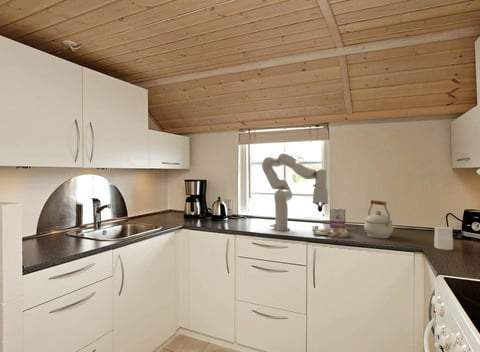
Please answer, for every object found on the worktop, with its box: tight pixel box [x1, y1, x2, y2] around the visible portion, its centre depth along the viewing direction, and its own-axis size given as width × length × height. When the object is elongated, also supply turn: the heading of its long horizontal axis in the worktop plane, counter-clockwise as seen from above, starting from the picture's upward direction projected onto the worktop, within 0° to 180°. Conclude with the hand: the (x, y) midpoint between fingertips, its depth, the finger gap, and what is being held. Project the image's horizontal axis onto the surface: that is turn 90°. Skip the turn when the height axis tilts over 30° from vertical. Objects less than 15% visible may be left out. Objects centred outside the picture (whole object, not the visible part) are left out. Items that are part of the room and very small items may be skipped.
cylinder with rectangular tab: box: [433, 226, 454, 251], centre depth 166 cm, size 9×9×12 cm
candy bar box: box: [329, 207, 346, 229], centre depth 224 cm, size 11×5×16 cm, turn 62°
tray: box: [312, 225, 333, 236], centre depth 202 cm, size 14×14×4 cm
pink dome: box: [320, 228, 330, 233], centre depth 202 cm, size 7×7×2 cm
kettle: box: [363, 199, 394, 239], centre depth 199 cm, size 25×18×25 cm
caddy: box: [325, 227, 350, 239], centre depth 200 cm, size 14×14×4 cm
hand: (320, 211), depth 202 cm, fingers closed
